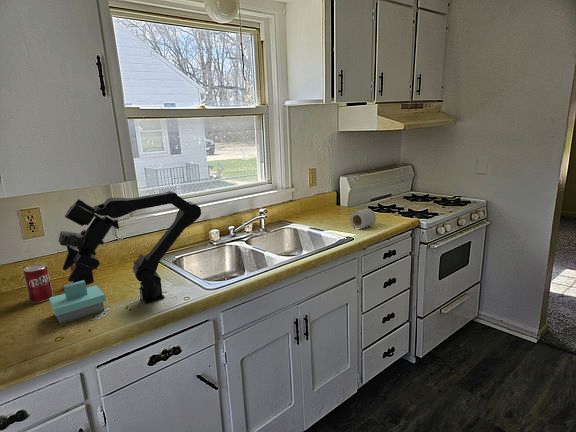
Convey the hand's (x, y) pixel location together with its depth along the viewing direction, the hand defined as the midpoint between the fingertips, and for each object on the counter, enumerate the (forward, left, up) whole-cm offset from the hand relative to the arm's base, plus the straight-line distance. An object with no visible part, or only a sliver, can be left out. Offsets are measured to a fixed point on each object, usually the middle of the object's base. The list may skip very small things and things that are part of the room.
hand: (66, 275), depth 120 cm
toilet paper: (-145, -1, -15) cm, 146 cm away
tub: (-2, -3, -15) cm, 15 cm away
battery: (-9, -29, -15) cm, 34 cm away
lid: (-2, -3, -11) cm, 12 cm away
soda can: (+6, -24, -15) cm, 29 cm away
